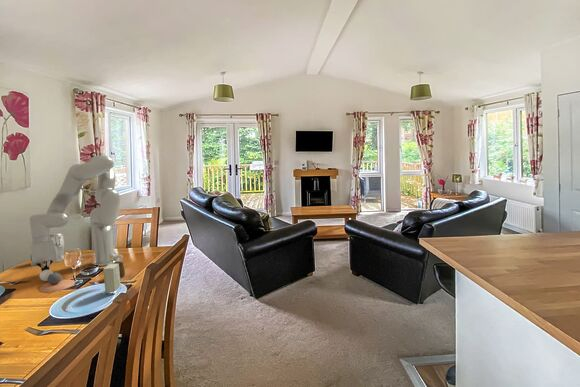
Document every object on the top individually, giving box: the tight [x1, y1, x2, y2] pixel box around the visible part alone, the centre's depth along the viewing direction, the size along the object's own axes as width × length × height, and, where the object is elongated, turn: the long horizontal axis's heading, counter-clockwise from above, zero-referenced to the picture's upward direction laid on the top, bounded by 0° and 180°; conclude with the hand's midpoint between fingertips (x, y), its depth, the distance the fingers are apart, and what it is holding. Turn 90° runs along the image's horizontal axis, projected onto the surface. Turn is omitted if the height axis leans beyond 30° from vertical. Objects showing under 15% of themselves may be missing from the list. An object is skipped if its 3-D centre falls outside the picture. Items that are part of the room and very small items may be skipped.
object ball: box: [47, 272, 62, 284], centre depth 161 cm, size 6×6×6 cm
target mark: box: [38, 279, 76, 293], centre depth 158 cm, size 14×14×1 cm
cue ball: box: [39, 269, 54, 282], centre depth 165 cm, size 6×6×6 cm
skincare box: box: [103, 263, 122, 294], centre depth 150 cm, size 6×4×12 cm
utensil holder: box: [109, 254, 126, 279], centre depth 168 cm, size 6×6×12 cm
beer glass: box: [51, 232, 65, 262], centre depth 196 cm, size 7×7×15 cm
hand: (46, 274), depth 169 cm, fingers closed
